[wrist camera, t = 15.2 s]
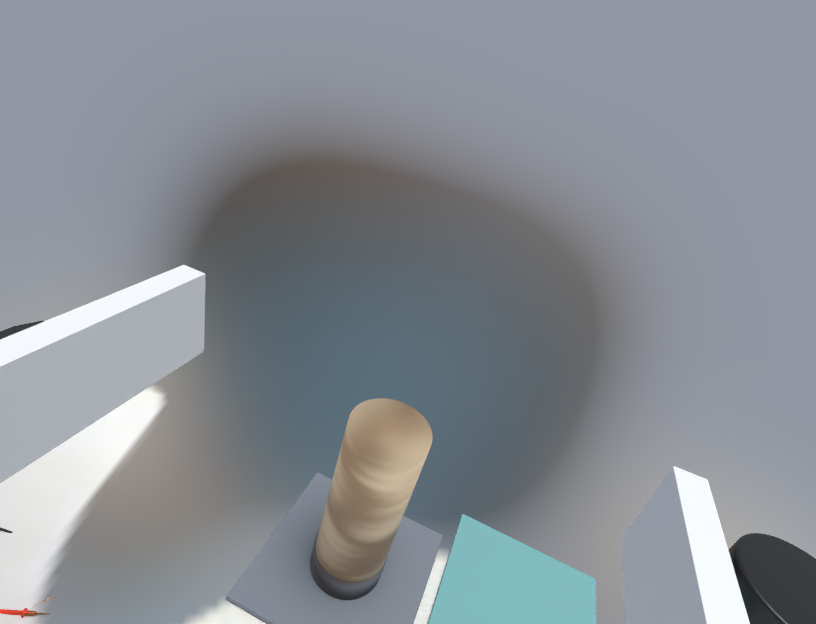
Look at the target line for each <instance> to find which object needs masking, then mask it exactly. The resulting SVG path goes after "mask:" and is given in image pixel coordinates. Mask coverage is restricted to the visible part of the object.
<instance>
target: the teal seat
mask: <svg viewBox="0 0 816 624" xmlns="http://www.w3.org/2000/svg"><path fill="white" fill-rule="evenodd" d="M428 624H596V579H594V578H592V577H590V576H588V575H586V574H584V573H582V572H580V571H578V570H576V569H574V568H572V567H570V566H568V565H566V564H564V563H561V562H560V561H558V560H555V559H553V558H552V557H549V556H547V555H545V554H543V553H541V552H539V551H537V550H535V549H533V548H531V547H529V546H527V545H525V544H523V543H521V542H519V541H517V540H515V539H512V538H511V537H509V536H507V535H505V534H503V533H501V532H498V531H496V530H494V529H492V528H490V527H488V526H486V525H484V524H482V523H480V522H478V521H476V520H474V519H472V518H470V517H468V516H466V515H464V514H462V516H461V519H460V522H459V526H458V529H457V532H456V535H455V538H454V542H453V545H452V548H451V551H450V554H449V558H448V561H447V564H446V567H445V570H444V574H443V577H442V580H441V583H440V587H439V590H438V593H437V596H436V599H435V603H434V606H433V609H432V612H431V615H430V619H429V622H428Z"/></svg>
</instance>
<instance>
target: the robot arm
mask: <svg viewBox="0 0 816 624" xmlns="http://www.w3.org/2000/svg"><path fill="white" fill-rule="evenodd" d="M204 316H205V273H202V272H200V271H197V270H195V269H193V268H190V267H188V266H185V265H182V266H180V267H178V268H175V269H172V270H170V271H167V272H165V273H162V274H160V275H158V276H155V277H153V278H150V279H148V280H145V281H143V282H141V283H138V284H136V285H133V286H131V287H128V288H126V289H123V290H121V291H118V292H116V293H113V294H111V295H108V296H106V297H104V298H101V299H99V300H96V301H94V302H91V303H89V304H87V305H84V306H81V307H79V308H76V309H74V310H72V311H69V312H67V313H64V314H62V315H59V316H57V317H54V318H52V319H49V320H47V321H39V322H34V323H29V324H24V325H19V326H14V327H11V328H9V329H6V330H4V331H1V332H0V483H1V482H3V481H4V480H6V479H8V478H9V477H11V476H12V475H14V474H15V473H17V472H18V471H20V470H21V469H23V468H25V467H26V466H28V465H29V464H31V463H32V462H34V461H35V460H37V459H38V458H40V457H41V456H43V455H45V454H46V453H48V452H49V451H51V450H52V449H54V448H55V447H57V446H58V445H60V444H62V443H63V442H65V441H66V440H68V439H69V438H71V437H72V436H74V435H75V434H77V433H78V432H80V431H82V430H83V429H85V428H86V427H88V426H89V425H91V424H92V423H94V422H95V421H97V420H99V419H100V418H102V417H103V416H105V415H106V414H108V413H109V412H111V411H112V410H114V409H115V408H117V407H119V406H120V405H122V404H123V403H125V402H126V401H128V400H129V399H131V398H132V397H134V396H136V395H137V394H139V393H140V392H142V391H143V390H145V389H146V388H148V387H149V386H151V385H152V384H154V383H156V382H157V381H159V380H160V379H162V378H163V377H165V376H166V375H168V374H169V373H171V372H173V371H174V370H176V369H177V368H179V367H180V366H182V365H183V364H185V363H186V362H188V361H189V360H191V359H193V358H194V357H196V356H197V355H199V354H200V353H202V352H203V351H204V318H205V317H204ZM621 554H622V555H621V556H622V571H623V589H624V606H625V623H626V624H750V622H749V618H748V615H747V612H746V608H745V605H744V602H743V598H742V595H741V591H740V588H739V585H738V581H737V578H736V574H735V571H734V568H733V564H732V561H731V558H730V554H729V551H728V547H727V544H726V541H725V537H724V534H723V530H722V527H721V524H720V520H719V517H718V514H717V510H716V507H715V503H714V500H713V497H712V493H711V490H710V487H709V483H708V480H707V479H704V478H702V477H699V476H697V475H694V474H692V473H690V472H687V471H685V470H682V469H680V468H677V467H675V466H673V467H672V468H671V469H670V471H669V472H668V474H667V475H666V476H665V478H664V479H663V481H662V482H661V483H660V485H659V486H658V488H657V489H656V490H655V492H654V493H653V495H652V496H651V497H650V499H649V500H648V502H647V503H646V504H645V506H644V507H643V508H642V510H641V511H640V513H639V514H638V516H637V517H636V518H635V520H634V521H633V522H632V524H631V525H630V527H629V528H628V529H627V531H626V532H625V534H624V535H623V536H622V538H621Z"/></svg>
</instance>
